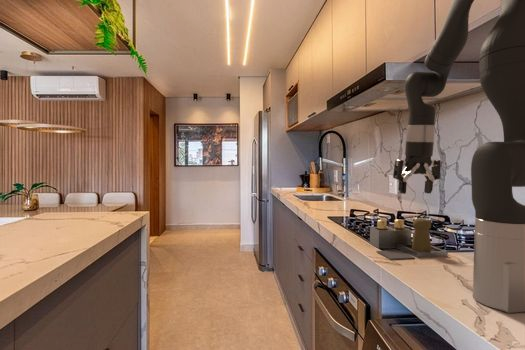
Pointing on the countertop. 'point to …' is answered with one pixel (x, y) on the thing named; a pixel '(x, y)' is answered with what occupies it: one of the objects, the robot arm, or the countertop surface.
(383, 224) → the plunger
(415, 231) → the cork
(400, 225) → the plunger
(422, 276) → the countertop surface
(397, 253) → the mat
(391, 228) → the housing
